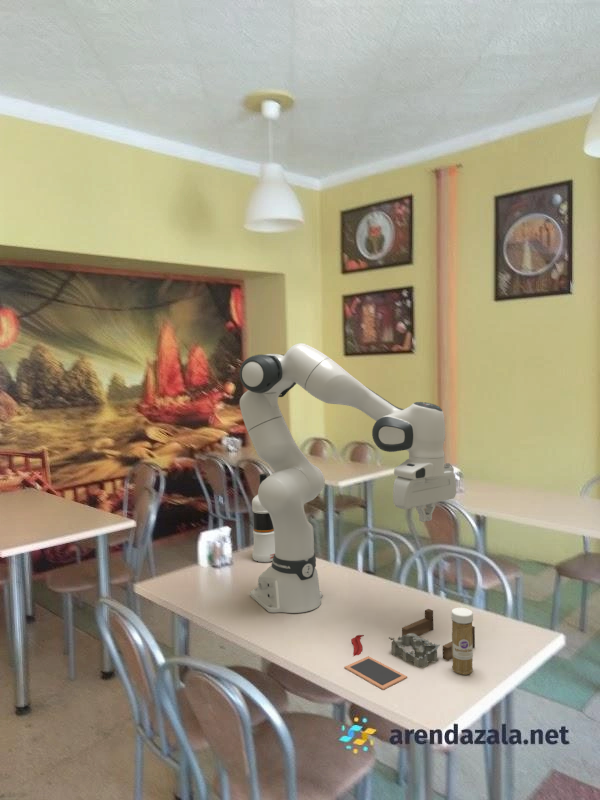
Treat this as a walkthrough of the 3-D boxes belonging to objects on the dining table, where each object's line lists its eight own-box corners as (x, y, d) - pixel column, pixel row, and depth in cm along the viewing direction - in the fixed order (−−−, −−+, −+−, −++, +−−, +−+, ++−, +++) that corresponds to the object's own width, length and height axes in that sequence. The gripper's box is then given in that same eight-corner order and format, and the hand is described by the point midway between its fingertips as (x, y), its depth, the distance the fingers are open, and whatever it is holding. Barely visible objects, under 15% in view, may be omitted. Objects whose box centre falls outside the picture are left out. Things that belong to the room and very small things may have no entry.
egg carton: (386, 653, 144) (386, 636, 144) (408, 643, 149) (408, 627, 148) (420, 670, 136) (419, 653, 135) (442, 660, 140) (442, 643, 140)
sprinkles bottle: (457, 676, 132) (457, 616, 131) (448, 666, 137) (447, 607, 136) (477, 674, 133) (476, 614, 132) (467, 663, 138) (466, 605, 137)
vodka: (252, 555, 218) (250, 471, 216) (278, 553, 219) (276, 471, 217) (252, 563, 209) (249, 477, 207) (279, 562, 209) (276, 476, 207)
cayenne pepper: (357, 635, 154) (357, 627, 154) (374, 638, 152) (374, 631, 152) (338, 656, 144) (338, 648, 143) (356, 660, 141) (356, 652, 141)
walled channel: (402, 639, 150) (401, 619, 150) (428, 627, 156) (428, 608, 156) (447, 660, 139) (447, 639, 139) (474, 647, 145) (474, 626, 145)
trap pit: (344, 668, 137) (344, 666, 137) (368, 657, 142) (368, 655, 142) (383, 690, 128) (383, 688, 128) (407, 677, 132) (407, 676, 132)
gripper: (443, 460, 163) (442, 511, 164) (389, 469, 150) (388, 524, 151) (462, 464, 158) (461, 516, 159) (408, 473, 145) (407, 530, 146)
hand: (425, 520), depth 155 cm, fingers closed
